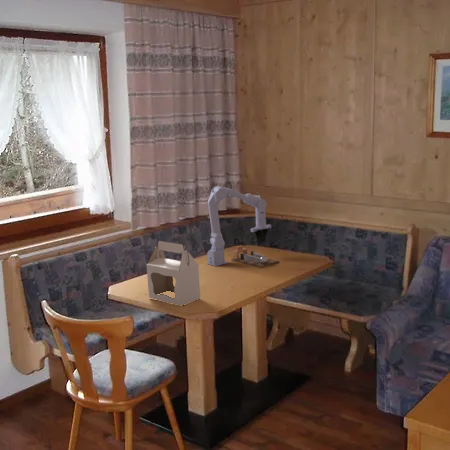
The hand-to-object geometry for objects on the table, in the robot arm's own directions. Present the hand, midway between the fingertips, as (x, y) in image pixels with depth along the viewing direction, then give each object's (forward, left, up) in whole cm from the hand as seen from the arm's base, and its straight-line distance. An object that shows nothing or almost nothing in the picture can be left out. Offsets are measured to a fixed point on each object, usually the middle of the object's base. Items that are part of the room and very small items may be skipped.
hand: (261, 242), depth 378 cm
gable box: (-80, -23, -10) cm, 84 cm away
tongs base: (-11, -5, -8) cm, 14 cm away
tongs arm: (-7, -3, -8) cm, 11 cm away
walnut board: (-9, -3, -9) cm, 13 cm away
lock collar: (-11, +7, -8) cm, 15 cm away
